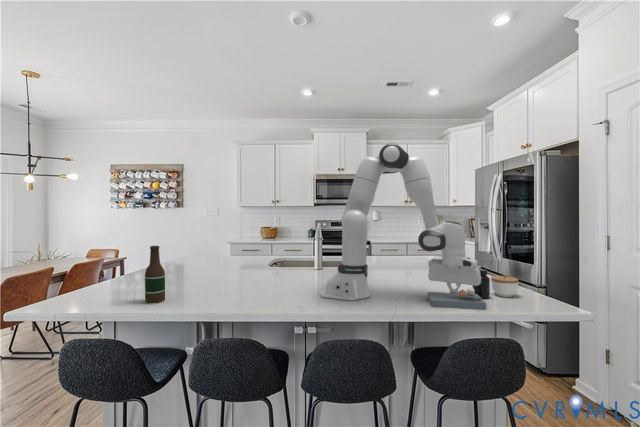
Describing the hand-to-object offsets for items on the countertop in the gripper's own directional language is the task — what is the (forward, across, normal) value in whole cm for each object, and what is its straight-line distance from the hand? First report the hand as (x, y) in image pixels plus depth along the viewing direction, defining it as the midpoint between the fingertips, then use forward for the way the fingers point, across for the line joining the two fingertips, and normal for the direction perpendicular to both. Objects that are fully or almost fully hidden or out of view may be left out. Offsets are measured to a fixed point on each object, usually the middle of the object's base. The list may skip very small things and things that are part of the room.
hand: (453, 293), depth 134 cm
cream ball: (0, +5, +7) cm, 8 cm away
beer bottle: (+3, -105, -71) cm, 127 cm away
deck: (+4, 0, 0) cm, 4 cm away
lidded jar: (+4, +15, +25) cm, 30 cm away
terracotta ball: (0, +3, 0) cm, 3 cm away
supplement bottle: (+4, +7, +16) cm, 18 cm away
